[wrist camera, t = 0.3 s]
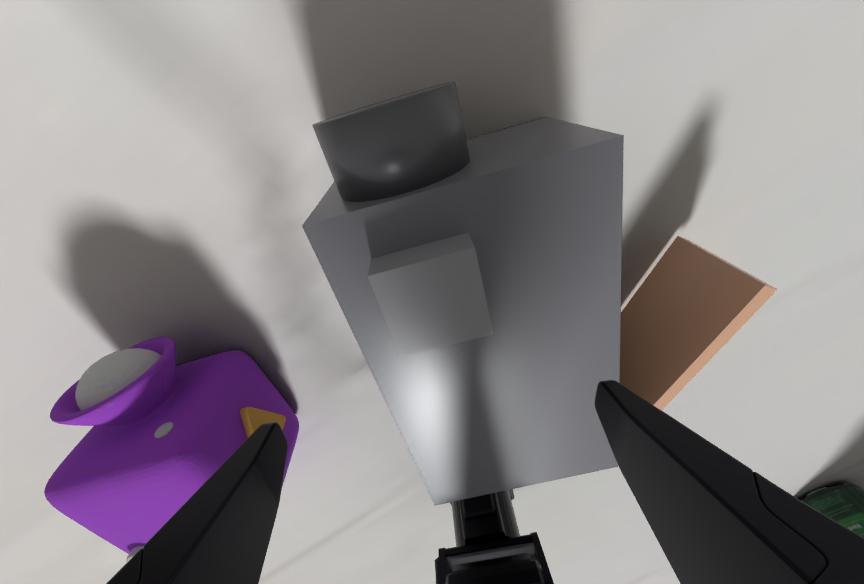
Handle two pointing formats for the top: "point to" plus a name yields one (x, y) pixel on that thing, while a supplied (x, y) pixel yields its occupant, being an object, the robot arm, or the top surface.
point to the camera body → (478, 284)
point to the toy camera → (156, 435)
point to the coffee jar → (840, 505)
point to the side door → (683, 319)
